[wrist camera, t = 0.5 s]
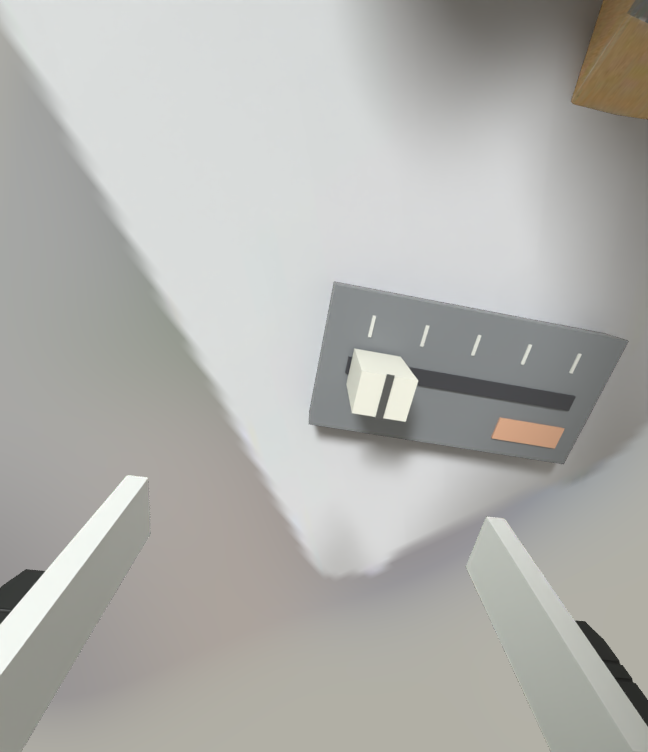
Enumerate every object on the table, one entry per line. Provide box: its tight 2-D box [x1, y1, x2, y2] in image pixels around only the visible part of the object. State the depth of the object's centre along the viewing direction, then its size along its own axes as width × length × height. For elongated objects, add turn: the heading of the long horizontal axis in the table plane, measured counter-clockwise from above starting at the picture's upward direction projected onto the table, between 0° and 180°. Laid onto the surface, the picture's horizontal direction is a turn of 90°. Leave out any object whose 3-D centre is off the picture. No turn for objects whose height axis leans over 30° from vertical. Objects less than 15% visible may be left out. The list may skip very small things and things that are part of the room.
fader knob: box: [346, 348, 418, 422], centre depth 29 cm, size 4×4×6 cm
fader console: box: [309, 282, 628, 464], centre depth 34 cm, size 14×28×3 cm, turn 79°
